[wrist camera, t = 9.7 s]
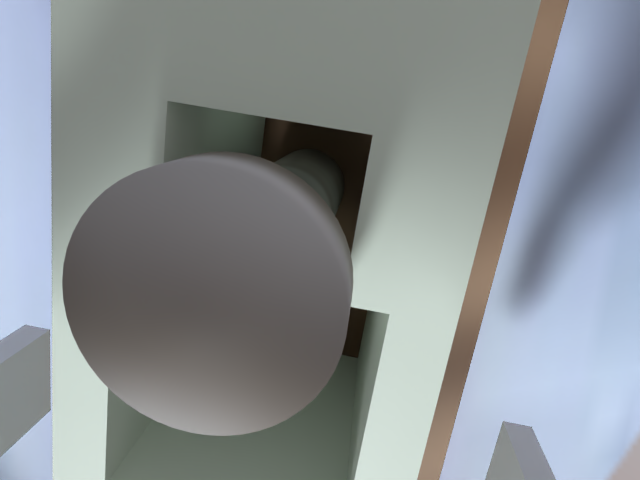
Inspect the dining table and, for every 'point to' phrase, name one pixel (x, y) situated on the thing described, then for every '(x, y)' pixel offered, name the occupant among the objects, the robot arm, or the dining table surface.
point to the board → (261, 273)
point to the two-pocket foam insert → (247, 137)
